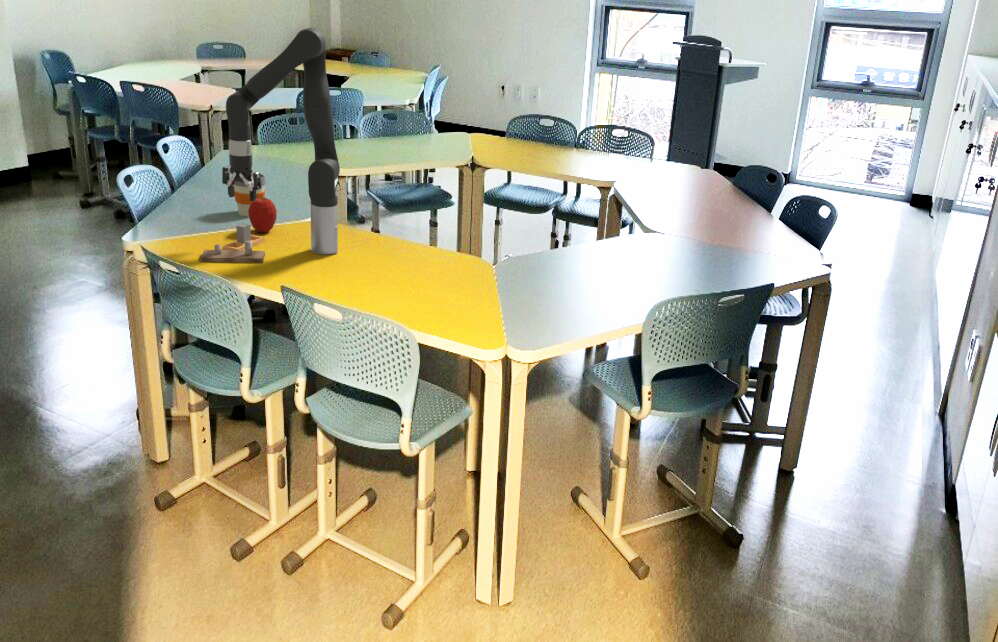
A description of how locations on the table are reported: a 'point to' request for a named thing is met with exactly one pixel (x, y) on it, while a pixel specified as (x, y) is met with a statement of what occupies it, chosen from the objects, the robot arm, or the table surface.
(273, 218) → the apple
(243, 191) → the reusable coffee cup
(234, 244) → the hole bar
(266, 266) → the table surface
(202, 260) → the pin board
